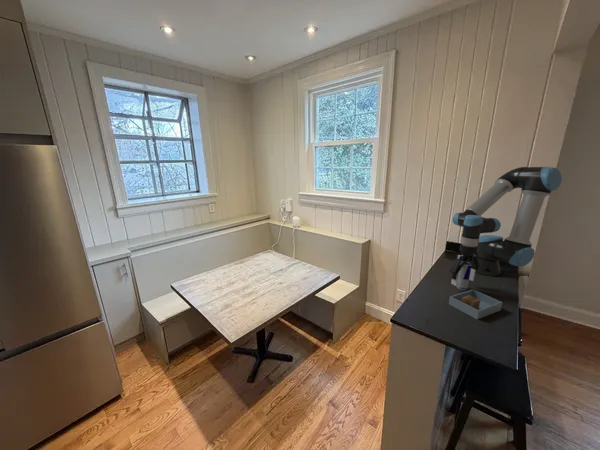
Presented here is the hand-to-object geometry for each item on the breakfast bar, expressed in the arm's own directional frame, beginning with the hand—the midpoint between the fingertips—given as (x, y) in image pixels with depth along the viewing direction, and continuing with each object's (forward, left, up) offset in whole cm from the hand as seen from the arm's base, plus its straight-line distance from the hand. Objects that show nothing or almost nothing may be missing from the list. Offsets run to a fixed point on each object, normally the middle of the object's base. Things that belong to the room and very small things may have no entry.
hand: (462, 282), depth 131 cm
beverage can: (0, 0, -4) cm, 4 cm away
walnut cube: (+16, +14, -3) cm, 22 cm away
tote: (+12, +14, -4) cm, 19 cm away
